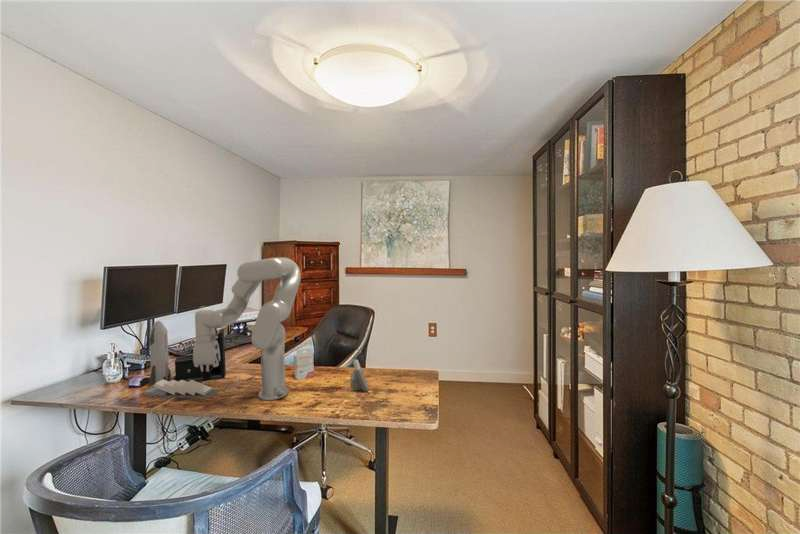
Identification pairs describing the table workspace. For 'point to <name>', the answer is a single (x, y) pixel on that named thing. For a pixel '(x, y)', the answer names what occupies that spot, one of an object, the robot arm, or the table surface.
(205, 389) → the domino
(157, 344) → the rocket model
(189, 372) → the black desk organizer
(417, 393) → the table surface
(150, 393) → the domino
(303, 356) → the ink cartridge box
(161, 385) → the domino
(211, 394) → the mat
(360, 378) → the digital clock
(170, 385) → the domino
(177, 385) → the domino
